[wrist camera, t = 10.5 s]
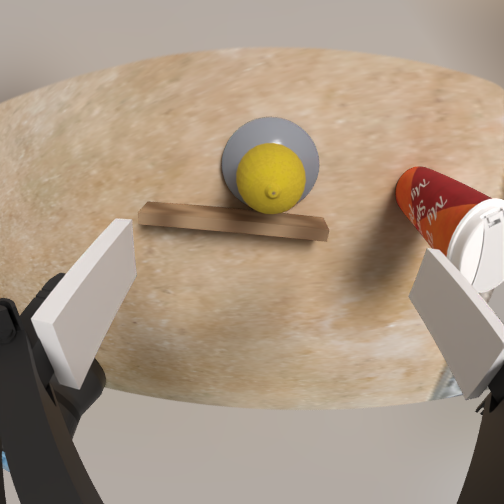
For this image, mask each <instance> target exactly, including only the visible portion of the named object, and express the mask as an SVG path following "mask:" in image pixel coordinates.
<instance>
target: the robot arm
mask: <svg viewBox="0 0 504 504" xmlns="http://www.w3.org/2000/svg"><path fill="white" fill-rule="evenodd" d="M136 276H137V273H136V263H135V252H134V241H133V227H132V220H131V219H115V220H114V221H113V222H112V223H111V224H110V225H109V226H108V227H107V228H106V229H105V230H104V231H103V232H102V234H101V235H100V236H99V237H98V238H97V239H96V240H95V241H94V242H93V243H92V245H91V246H90V247H89V248H88V249H87V250H86V251H85V252H84V254H83V255H82V256H81V257H80V258H79V259H78V260H77V262H76V263H75V264H74V265H73V266H72V267H71V269H70V270H69V271H68V272H67V273H66V274H65V273H59V274H57V275H56V276H54V277H53V278H51V279H50V280H49V281H48V282H47V283H46V284H45V285H44V286H43V288H42V290H40V291H39V292H38V294H37V295H36V298H34V299H33V300H32V301H31V302H30V304H29V305H28V306H27V307H26V309H25V310H24V311H23V312H22V314H21V315H20V316H19V313H18V311H17V308H16V306H15V303H14V302H13V301H12V300H10V299H7V298H0V504H6V498H5V490H4V479H3V469H5V470H7V471H8V472H10V474H11V477H12V480H13V483H14V486H15V489H16V492H17V494H18V498H19V500H20V503H21V504H104V503H103V501H102V500H101V498H100V496H99V494H98V492H97V491H96V489H95V487H94V485H93V483H92V481H91V479H90V477H89V475H88V473H87V471H86V469H85V467H84V465H83V463H82V461H81V459H80V457H79V454H78V452H77V450H76V448H75V446H74V443H73V441H72V439H73V436H74V433H75V431H76V428H77V425H78V423H79V420H80V418H81V416H82V414H83V413H84V412H85V411H86V410H87V409H88V408H89V407H90V406H91V405H92V404H93V403H94V402H95V401H96V399H97V398H98V397H99V396H100V395H101V393H102V391H103V388H104V386H105V383H106V378H105V374H104V372H103V370H102V368H101V366H100V365H99V363H98V362H97V361H96V360H95V359H94V357H95V355H96V353H97V351H98V349H99V347H100V345H101V343H102V341H103V339H104V337H105V335H106V333H107V331H108V329H109V327H110V325H111V323H112V321H113V319H114V317H115V315H116V313H117V311H118V309H119V307H120V306H121V304H122V302H123V300H124V298H125V296H126V294H127V292H128V291H129V289H130V287H131V285H132V283H133V281H134V280H135V278H136ZM409 298H410V300H411V302H412V303H413V305H414V306H415V308H416V310H417V311H418V313H419V315H420V316H421V318H422V320H423V321H424V323H425V325H426V327H427V328H428V330H429V332H430V333H431V335H432V337H433V339H434V340H435V342H436V344H437V346H438V348H439V349H440V351H441V353H442V355H443V357H444V358H445V360H446V362H447V364H448V366H449V368H450V370H451V372H452V374H453V376H454V377H455V379H456V381H457V383H458V385H459V387H460V389H461V391H462V393H463V395H464V397H465V400H468V399H472V398H477V397H479V396H480V395H481V394H482V393H483V391H484V390H485V389H486V388H487V386H488V387H489V389H490V391H491V392H490V393H489V394H488V396H487V397H486V398H485V399H484V401H483V402H482V403H481V404H480V405H479V406H478V408H477V409H476V412H478V411H479V410H480V409H481V408H484V410H483V411H482V412H481V413H480V414H481V415H483V416H482V422H481V425H480V430H479V434H478V438H477V442H476V446H475V450H474V454H473V457H472V461H471V464H470V467H469V471H468V473H467V476H466V479H465V482H464V485H463V488H462V491H461V494H460V496H459V499H458V502H457V504H504V324H503V323H502V322H501V321H500V319H499V318H498V317H497V315H496V314H495V313H494V312H493V310H492V309H491V308H490V307H489V306H488V304H487V303H486V302H485V301H484V299H483V298H482V297H481V296H480V295H479V293H478V292H477V291H476V290H475V289H474V288H473V286H472V285H471V284H470V283H469V282H468V281H467V279H466V278H465V277H464V276H463V275H462V274H461V273H460V272H459V270H458V269H457V268H456V267H455V266H454V265H453V264H452V263H451V262H450V261H449V260H448V258H447V257H446V256H445V255H444V254H443V253H442V252H441V251H440V250H438V249H430V248H427V249H426V252H425V255H424V258H423V261H422V263H421V266H420V269H419V272H418V274H417V277H416V279H415V282H414V284H413V287H412V289H411V292H410V294H409Z"/></svg>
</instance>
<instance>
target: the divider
mask: <svg viewBox="0 0 504 504" xmlns="http://www.w3.org/2000/svg"><path fill="white" fill-rule="evenodd" d="M138 224H141V225H154V226H166V227H178V228H190V229H201V230H213V231H224V232H235V233H246V234H256V235H267V236H277V237H287V238H297V239H307V240H317V241H326V242H327V238H328V234H329V228H328V226H327V224H326V222H325V220H324V218H321V217H313V216H304V215H295V214H285V213H278V214H264V213H261V212H258V211H256V210H246V209H235V208H223V207H212V206H200V205H187V204H173V203H158V202H147V203H146V204H145V205H144V206H143V207H142V209H141V210H140V211H139V212H138Z"/></svg>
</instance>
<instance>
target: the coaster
mask: <svg viewBox="0 0 504 504" xmlns="http://www.w3.org/2000/svg"><path fill="white" fill-rule="evenodd" d="M264 143H276V144H281V145H283V146H285V147H287V148H289V149H291V150H292V151H293V152H294V153H295V154H297V156H298V157H299V159H300V160H301V162H302V164H303V167H304V170H305V176H306V183H305V188H304V192H303V194H302V196H301V198H300V200H299V201H298V202H300V201H301V200H302V199H303V198H305V197H306V195H307V194H308V193H309V192H310V191H311V189H312V188H313V186H314V184H315V182H316V179H317V176H318V172H319V156H318V152H317V149H316V146H315V144H314V142H313V141H312V139H311V137H310V136H309V135H308V134H307V133H306V132H305V131H304V130H303V129H302V128H301V127H299V126H298V125H296V124H295V123H293V122H291V121H289V120H286V119H283V118H278V117H262V118H258V119H255V120H252V121H249V122H248V123H246V124H244V125H243V126H241V127H240V128H239V129H238V130H236V131H235V132H234V134H233V135H232V136H231V138H230V139H229V141H228V142H227V145H226V147H225V149H224V153H223V157H222V171H223V176H224V179H225V182H226V184H227V186H228V188H229V189H230V191H231V192H232V193H233V194H234V195H235V196H236V197H237V198H238V199H239V200H240V201H241V202H243V203H245V204H246V205H248V204H247V203H246V202H245V201H244V200H243V198H242V196H241V195H240V193H239V191H238V187H237V183H236V172H237V168H238V165H239V163H240V161H241V159H242V157H243V156H244V155H245V154H246V153H247V152H248V151H249V150H250V149H252V148H254V147H255V146H257V145H261V144H264ZM298 202H297V203H298ZM248 206H249V205H248Z"/></svg>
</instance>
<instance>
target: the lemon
mask: <svg viewBox="0 0 504 504" xmlns="http://www.w3.org/2000/svg"><path fill="white" fill-rule="evenodd" d="M236 183H237V187H238V191H239V193H240V195H241V196H242V198H243V200H244V201H245V202H246V203H247V204H248V205H249V206H250V207H251V208H253V209H254V210H256V211H258V212H261V213H264V214H278V213H282V212H285V211H287V210H289V209H290V208H292V207H293V206H294V205H295V204H296V203H297V202H298V201H299V200H300V198H301V196H302V194H303V192H304V188H305V183H306V176H305V170H304V167H303V164H302V162H301V160H300V159H299V157H298V156H297V154H295V153H294V152H293V151H292V150H291V149H289V148H287V147H285V146H283V145H281V144H276V143H264V144H261V145H257V146H255V147H254V148H252V149H250V150H249V151H248V152H247V153H246V154H245V155H244V156H243V157H242V159H241V161H240V163H239V165H238V168H237V172H236Z"/></svg>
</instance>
